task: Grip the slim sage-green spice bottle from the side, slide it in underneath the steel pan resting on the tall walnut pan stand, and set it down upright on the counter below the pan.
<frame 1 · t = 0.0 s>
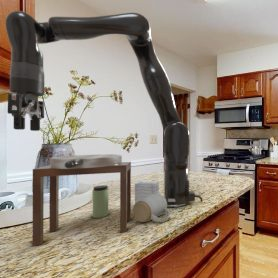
hand: (27, 130, 66), 29 cm above the countertop, tool pointing down, fingers open, 8 cm apart
medicine box: (147, 204, 84), on the countertop
ceramic mug: (153, 219, 68), on the countertop
spice bottle: (100, 215, 71), on the countertop
pan stand: (88, 230, 59), on the countertop
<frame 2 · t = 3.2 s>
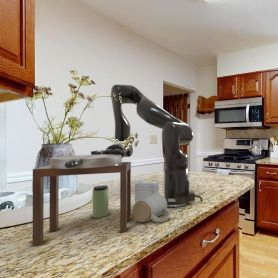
hand: (109, 154, 83), 20 cm above the countertop, tool horizontal, fingers open, 8 cm apart
nothing on the countertop moved.
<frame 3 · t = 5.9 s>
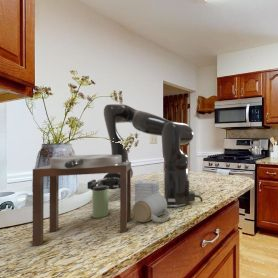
hand: (106, 186, 78), 8 cm above the countertop, tool horizontal, fingers open, 8 cm apart
nothing on the countertop moved.
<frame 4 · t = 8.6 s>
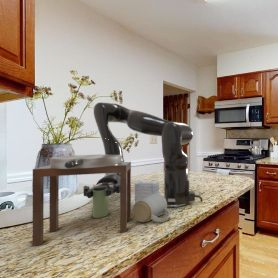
hand: (98, 194, 69), 8 cm above the countertop, tool horizontal, fingers closed on spice bottle, 4 cm apart
spice bottle: (100, 215, 71), on the countertop, touching gripper
everything else where it was.
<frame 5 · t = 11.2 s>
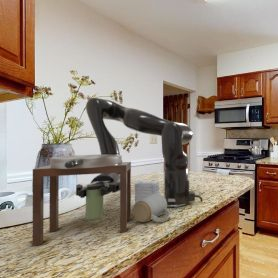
hand: (92, 193, 62), 10 cm above the countertop, tool horizontal, fingers closed on spice bottle, 4 cm apart
spice bottle: (94, 216, 65), point 2 cm above the countertop, touching gripper
everything else where it was.
when the fingers open (8 cm above the countertop, at t = 13.8 s): spice bottle stays where it is, on the countertop.
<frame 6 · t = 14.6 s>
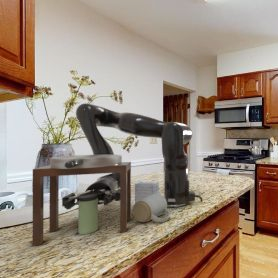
hand: (87, 203, 58), 8 cm above the countertop, tool horizontal, fingers open, 8 cm apart
spice bottle: (88, 230, 59), on the countertop
everything else where it was.
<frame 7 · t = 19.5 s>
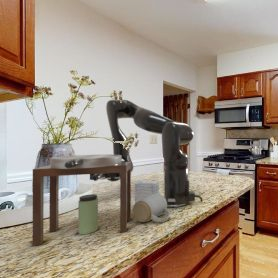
hand: (108, 177, 81), 11 cm above the countertop, tool horizontal, fingers open, 8 cm apart
nothing on the countertop moved.
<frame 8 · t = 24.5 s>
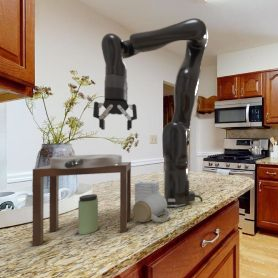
hand: (116, 129, 81), 30 cm above the countertop, tool pointing down, fingers open, 8 cm apart
nothing on the countertop moved.
at the end: spice bottle inside the target area (0.3 cm from its centre), on the countertop; spice bottle tilted 0°; the gripper is holding nothing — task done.
